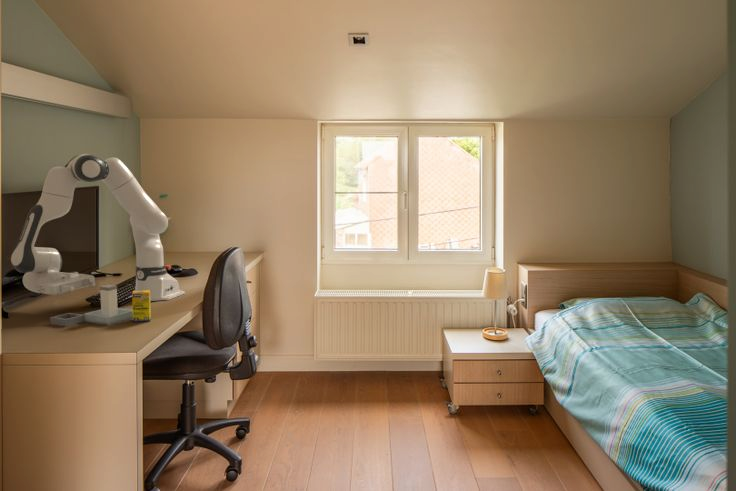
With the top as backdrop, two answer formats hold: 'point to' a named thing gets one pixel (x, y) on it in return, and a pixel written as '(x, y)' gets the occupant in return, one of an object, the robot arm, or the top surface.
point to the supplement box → (141, 306)
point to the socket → (67, 319)
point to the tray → (98, 319)
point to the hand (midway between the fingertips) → (83, 286)
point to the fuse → (108, 300)
